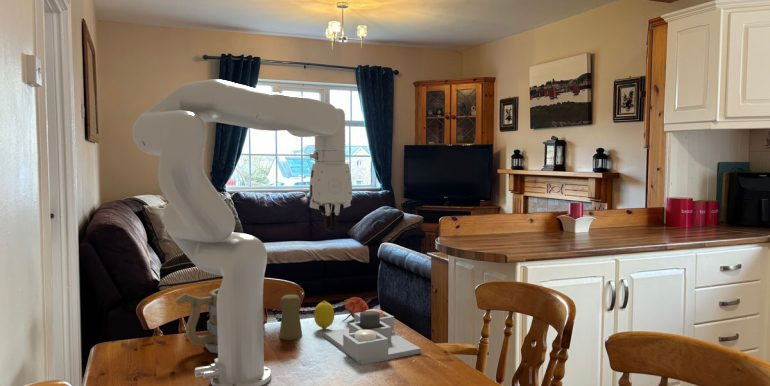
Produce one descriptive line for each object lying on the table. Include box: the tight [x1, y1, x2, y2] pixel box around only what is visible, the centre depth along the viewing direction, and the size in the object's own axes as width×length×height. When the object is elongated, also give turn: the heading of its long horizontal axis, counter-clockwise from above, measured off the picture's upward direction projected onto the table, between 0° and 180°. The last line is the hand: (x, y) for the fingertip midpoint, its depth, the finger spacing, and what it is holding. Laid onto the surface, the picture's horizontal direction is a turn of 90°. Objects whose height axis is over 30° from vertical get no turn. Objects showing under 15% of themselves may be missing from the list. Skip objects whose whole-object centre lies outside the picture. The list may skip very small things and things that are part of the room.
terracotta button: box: [366, 308, 383, 318], centre depth 153 cm, size 5×5×4 cm
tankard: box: [175, 287, 220, 354], centre depth 141 cm, size 20×13×15 cm, turn 122°
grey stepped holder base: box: [322, 310, 422, 366], centre depth 144 cm, size 18×23×5 cm
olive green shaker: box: [278, 294, 303, 341], centre depth 150 cm, size 6×6×11 cm
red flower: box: [341, 296, 370, 323], centre depth 164 cm, size 7×7×10 cm
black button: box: [360, 311, 380, 330], centre depth 144 cm, size 5×5×4 cm
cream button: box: [355, 330, 376, 342], centre depth 135 cm, size 5×5×4 cm
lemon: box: [313, 300, 335, 330], centre depth 156 cm, size 6×6×8 cm
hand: (330, 230), depth 142 cm, fingers closed
